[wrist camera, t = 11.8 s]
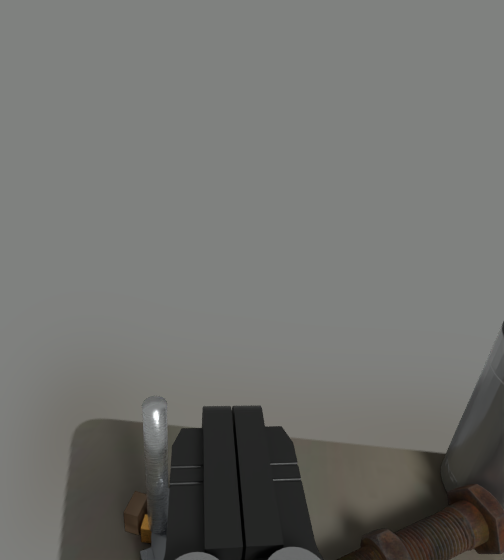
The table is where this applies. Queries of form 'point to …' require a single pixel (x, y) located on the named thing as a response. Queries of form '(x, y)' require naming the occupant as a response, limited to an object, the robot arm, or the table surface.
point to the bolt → (442, 531)
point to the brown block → (135, 513)
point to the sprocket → (155, 477)
